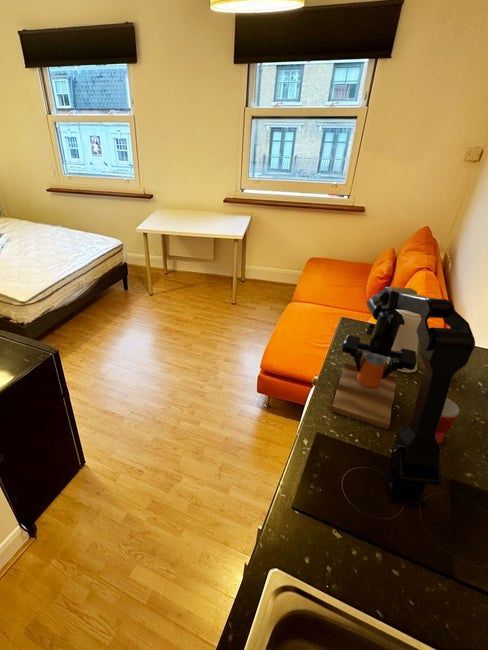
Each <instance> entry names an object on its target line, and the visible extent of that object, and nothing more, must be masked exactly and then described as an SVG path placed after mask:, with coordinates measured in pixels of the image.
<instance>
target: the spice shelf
mask: <svg viewBox="0 0 488 650" xmlns="http://www.w3.org/2000/svg"><path fill="white" fill-rule="evenodd" d="M357 375H358V372H357V367H356V363H355V364H354V363H351V362H348V361H345V362H344V364H343V368H342V371H341V375H340V378H339V381H338V385H337V389H336V392H335V396H334V399H333V403H332V405H331V409H330V411H331V412H333V413H337V414H339V415H342V416H346V417H348V418H352V419H355V420H357V421H361V422H364V423H367V424H370V425H373V426H376V427H379V428H383V429H385V430H388V429H389V427H390V426H391V417H392V409H393V408H392V407H393V405H394V401H395V394H396V384H397V380H398V375H395V374H392V373H390V374H389V375H388V376H387V377H385V378H384V379H382V380H381V382H380V384H379V385H378V386H376V387H369V386H365V385H363V384H362V383H360V382H359V381H358V379H357Z"/></svg>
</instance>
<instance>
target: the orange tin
mask: <svg viewBox="0 0 488 650" xmlns="http://www.w3.org/2000/svg"><path fill="white" fill-rule="evenodd" d="M387 365H388V360H387V357H385V356H381V355H377V354H373V353H369V352H365V353H364V354H363V356H362V359H361V366H360V370H359V372H358V375H357V379H358V381H359V382H360V383H362V384H363V385H365V386H369V387H376V386H378V385H379V384H380V382H381V380H382V377H383V374H384V372H385V369H386V367H387Z"/></svg>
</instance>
